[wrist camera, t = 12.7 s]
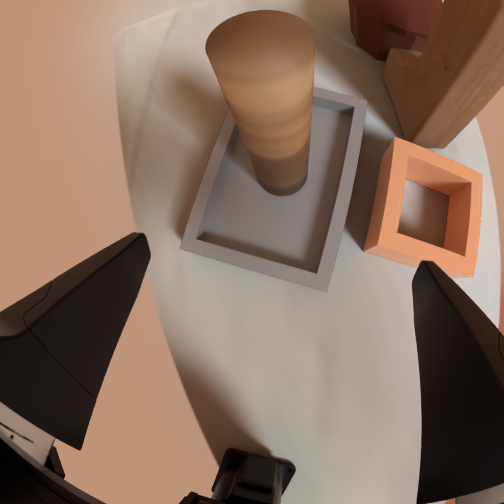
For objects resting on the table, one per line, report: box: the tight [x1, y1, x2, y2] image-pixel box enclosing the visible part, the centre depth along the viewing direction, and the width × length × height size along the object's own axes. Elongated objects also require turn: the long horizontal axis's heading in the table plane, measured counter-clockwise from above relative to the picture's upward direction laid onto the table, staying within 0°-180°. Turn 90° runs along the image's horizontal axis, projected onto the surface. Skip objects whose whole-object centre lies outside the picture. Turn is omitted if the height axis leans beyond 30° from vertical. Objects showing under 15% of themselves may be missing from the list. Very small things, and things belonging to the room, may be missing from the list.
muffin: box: [349, 0, 443, 62], centre depth 18 cm, size 12×11×10 cm
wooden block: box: [382, 0, 504, 148], centre depth 13 cm, size 9×4×18 cm, turn 4°
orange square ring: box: [363, 137, 482, 278], centre depth 19 cm, size 8×8×4 cm
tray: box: [180, 87, 367, 292], centre depth 22 cm, size 16×11×2 cm
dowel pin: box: [205, 10, 315, 196], centre depth 15 cm, size 4×4×14 cm
